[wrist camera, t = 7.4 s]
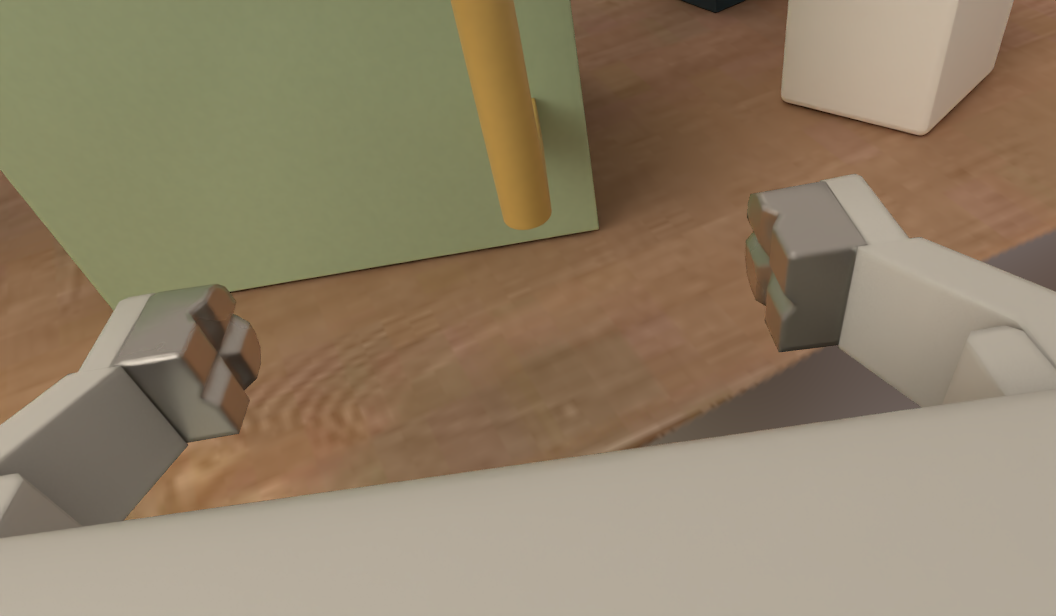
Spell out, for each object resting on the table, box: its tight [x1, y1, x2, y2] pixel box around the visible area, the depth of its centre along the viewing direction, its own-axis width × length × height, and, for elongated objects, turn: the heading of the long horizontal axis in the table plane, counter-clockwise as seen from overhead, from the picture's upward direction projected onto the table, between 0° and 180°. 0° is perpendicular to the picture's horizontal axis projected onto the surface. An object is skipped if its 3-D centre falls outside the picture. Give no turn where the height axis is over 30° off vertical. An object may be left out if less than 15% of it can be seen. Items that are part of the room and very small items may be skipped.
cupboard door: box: [0, 0, 599, 310], centre depth 21 cm, size 7×22×22 cm, turn 93°
